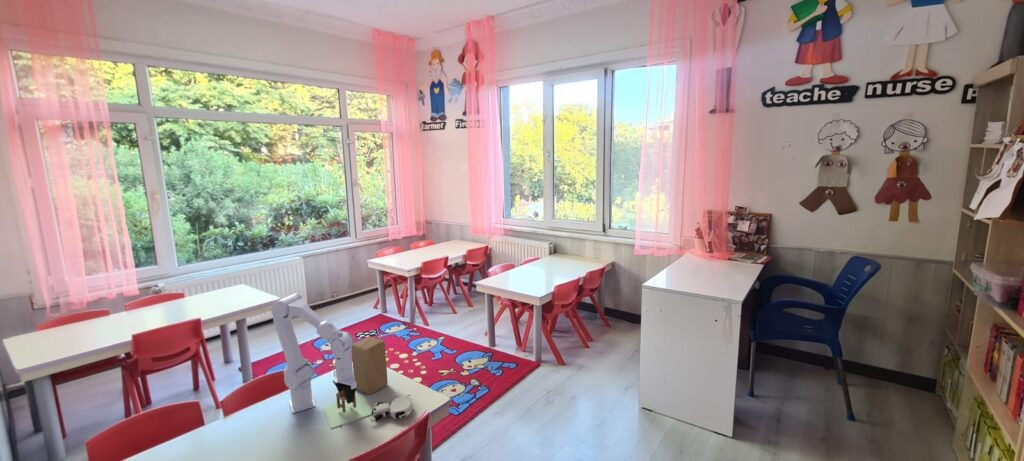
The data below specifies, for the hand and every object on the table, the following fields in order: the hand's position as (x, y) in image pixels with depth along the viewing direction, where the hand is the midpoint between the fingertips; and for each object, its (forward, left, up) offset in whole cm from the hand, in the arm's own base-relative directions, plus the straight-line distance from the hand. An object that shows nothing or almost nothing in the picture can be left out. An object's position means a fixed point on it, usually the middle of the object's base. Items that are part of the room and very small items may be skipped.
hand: (346, 399), depth 159 cm
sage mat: (0, 0, -5) cm, 5 cm away
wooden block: (-13, +12, -5) cm, 18 cm away
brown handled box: (0, 0, -3) cm, 3 cm away
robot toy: (+12, +13, -5) cm, 19 cm away
